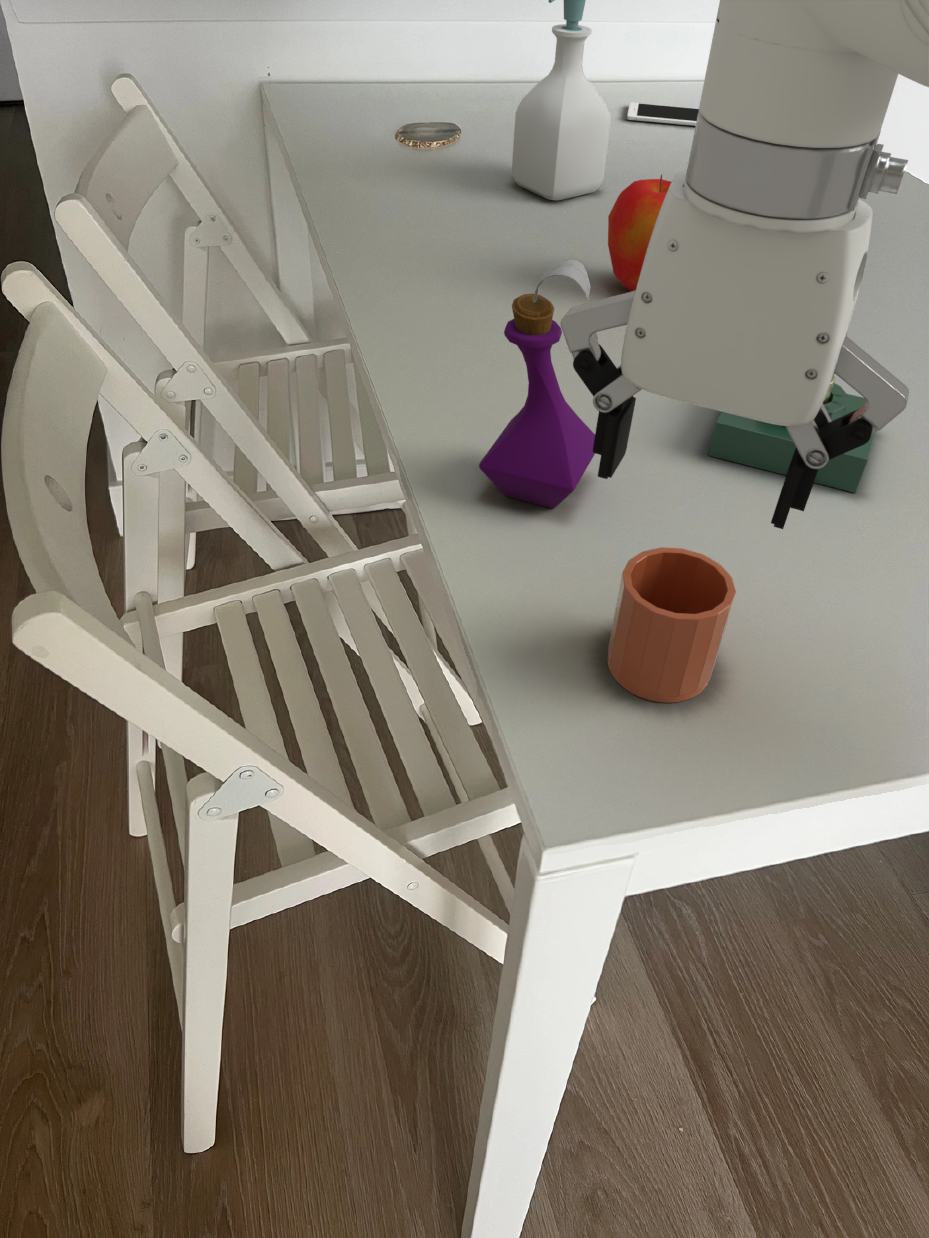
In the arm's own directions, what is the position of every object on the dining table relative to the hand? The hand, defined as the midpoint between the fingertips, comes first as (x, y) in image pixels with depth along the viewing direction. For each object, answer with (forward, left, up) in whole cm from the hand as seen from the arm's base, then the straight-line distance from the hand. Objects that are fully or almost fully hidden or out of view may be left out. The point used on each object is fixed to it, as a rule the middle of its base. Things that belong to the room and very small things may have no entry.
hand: (694, 489), depth 55 cm
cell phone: (+30, -120, -13) cm, 124 cm away
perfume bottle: (+14, -15, -14) cm, 24 cm away
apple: (+17, -55, -14) cm, 59 cm away
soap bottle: (+36, -80, -14) cm, 88 cm away
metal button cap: (-3, -31, -9) cm, 32 cm away
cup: (0, 0, -13) cm, 13 cm away
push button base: (-3, -31, -13) cm, 34 cm away
